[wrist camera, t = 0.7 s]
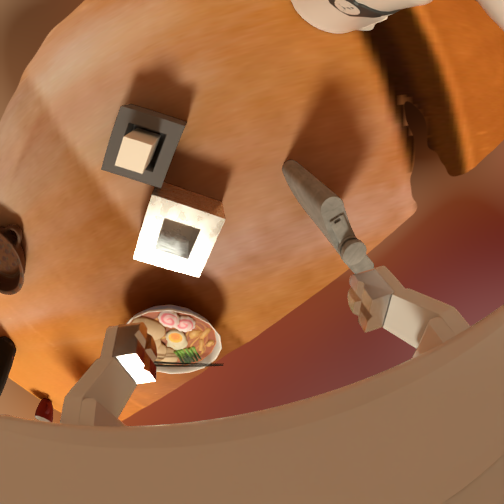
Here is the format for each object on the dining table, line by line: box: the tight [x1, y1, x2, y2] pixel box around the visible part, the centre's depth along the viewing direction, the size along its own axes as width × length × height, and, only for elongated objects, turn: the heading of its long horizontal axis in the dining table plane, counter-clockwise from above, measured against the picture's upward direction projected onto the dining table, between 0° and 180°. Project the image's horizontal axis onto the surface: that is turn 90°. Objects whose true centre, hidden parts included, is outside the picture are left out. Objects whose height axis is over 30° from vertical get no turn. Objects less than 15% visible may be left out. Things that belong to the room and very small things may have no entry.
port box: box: [133, 182, 226, 278], centre depth 46 cm, size 12×12×7 cm
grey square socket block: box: [101, 104, 187, 188], centre depth 38 cm, size 10×10×6 cm
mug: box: [35, 399, 53, 422], centre depth 74 cm, size 11×8×10 cm
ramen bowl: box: [127, 305, 223, 374], centre depth 59 cm, size 25×23×8 cm
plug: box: [115, 128, 161, 174], centre depth 35 cm, size 4×4×10 cm
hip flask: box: [282, 160, 374, 274], centre depth 43 cm, size 16×4×20 cm, turn 36°
